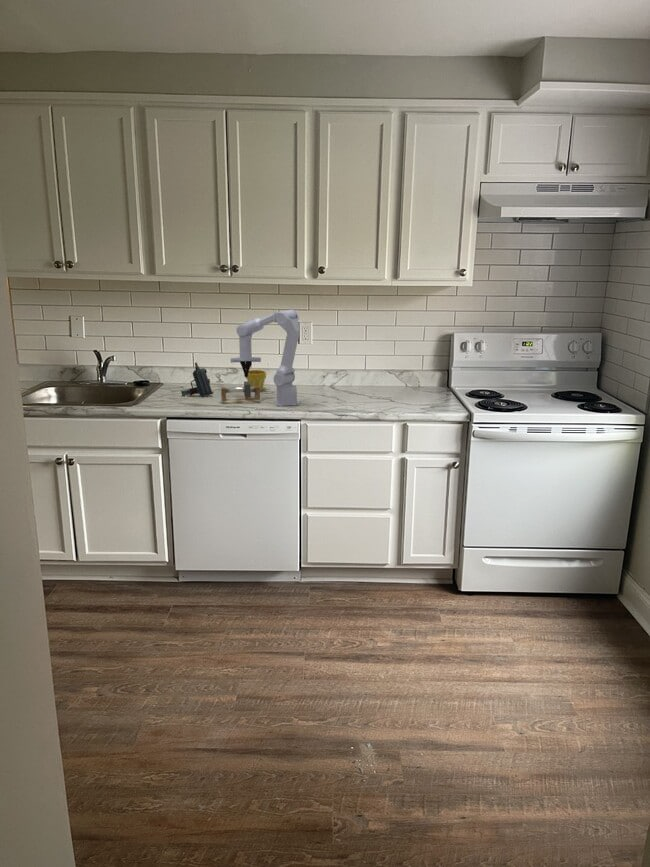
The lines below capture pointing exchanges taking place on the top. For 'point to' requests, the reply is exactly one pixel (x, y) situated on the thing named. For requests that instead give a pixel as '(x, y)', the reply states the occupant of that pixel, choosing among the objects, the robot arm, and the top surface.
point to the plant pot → (256, 378)
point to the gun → (199, 383)
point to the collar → (247, 390)
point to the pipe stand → (239, 400)
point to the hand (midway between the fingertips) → (246, 376)
